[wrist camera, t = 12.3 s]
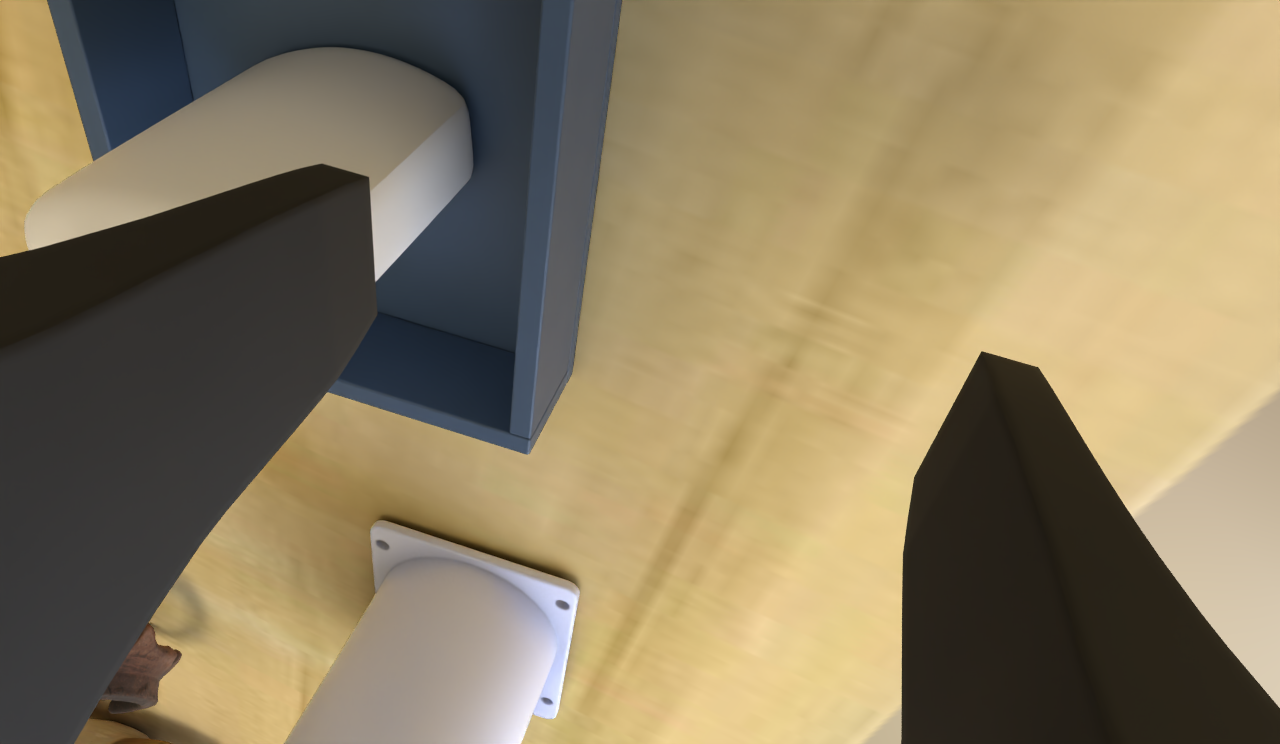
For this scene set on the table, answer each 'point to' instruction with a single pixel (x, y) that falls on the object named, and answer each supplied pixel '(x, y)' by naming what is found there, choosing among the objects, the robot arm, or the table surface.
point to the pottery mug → (140, 674)
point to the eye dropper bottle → (284, 147)
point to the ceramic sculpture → (112, 734)
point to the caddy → (466, 227)
